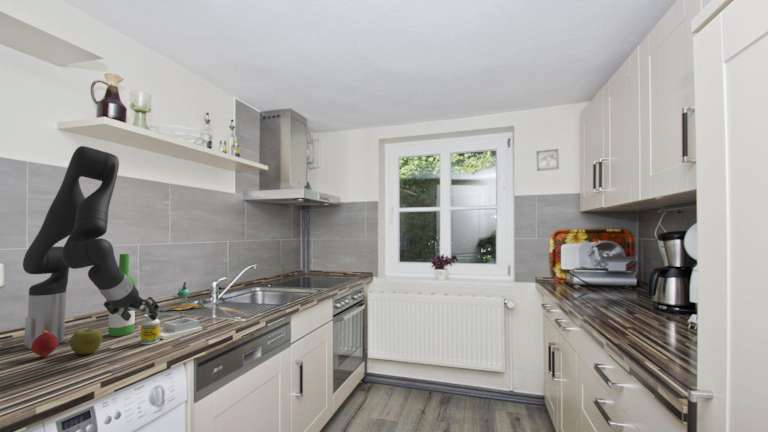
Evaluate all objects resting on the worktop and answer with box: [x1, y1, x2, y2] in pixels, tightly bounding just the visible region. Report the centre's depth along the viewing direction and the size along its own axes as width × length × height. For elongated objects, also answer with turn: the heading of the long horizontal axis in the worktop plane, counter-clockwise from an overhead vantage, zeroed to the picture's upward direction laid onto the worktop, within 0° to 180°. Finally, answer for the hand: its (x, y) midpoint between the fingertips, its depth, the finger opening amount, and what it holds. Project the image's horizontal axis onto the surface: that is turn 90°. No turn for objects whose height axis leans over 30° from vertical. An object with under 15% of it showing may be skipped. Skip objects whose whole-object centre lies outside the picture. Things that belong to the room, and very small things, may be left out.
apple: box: [69, 328, 103, 355], centre depth 108 cm, size 8×8×7 cm
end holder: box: [159, 317, 203, 341], centre depth 130 cm, size 15×12×4 cm
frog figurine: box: [167, 281, 206, 311], centre depth 171 cm, size 10×18×15 cm, turn 96°
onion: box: [31, 331, 59, 358], centre depth 105 cm, size 6×6×8 cm
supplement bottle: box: [140, 314, 161, 346], centre depth 119 cm, size 5×5×10 cm
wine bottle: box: [108, 253, 137, 337], centre depth 129 cm, size 8×8×30 cm
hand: (141, 318), depth 114 cm, fingers open, 8 cm apart
